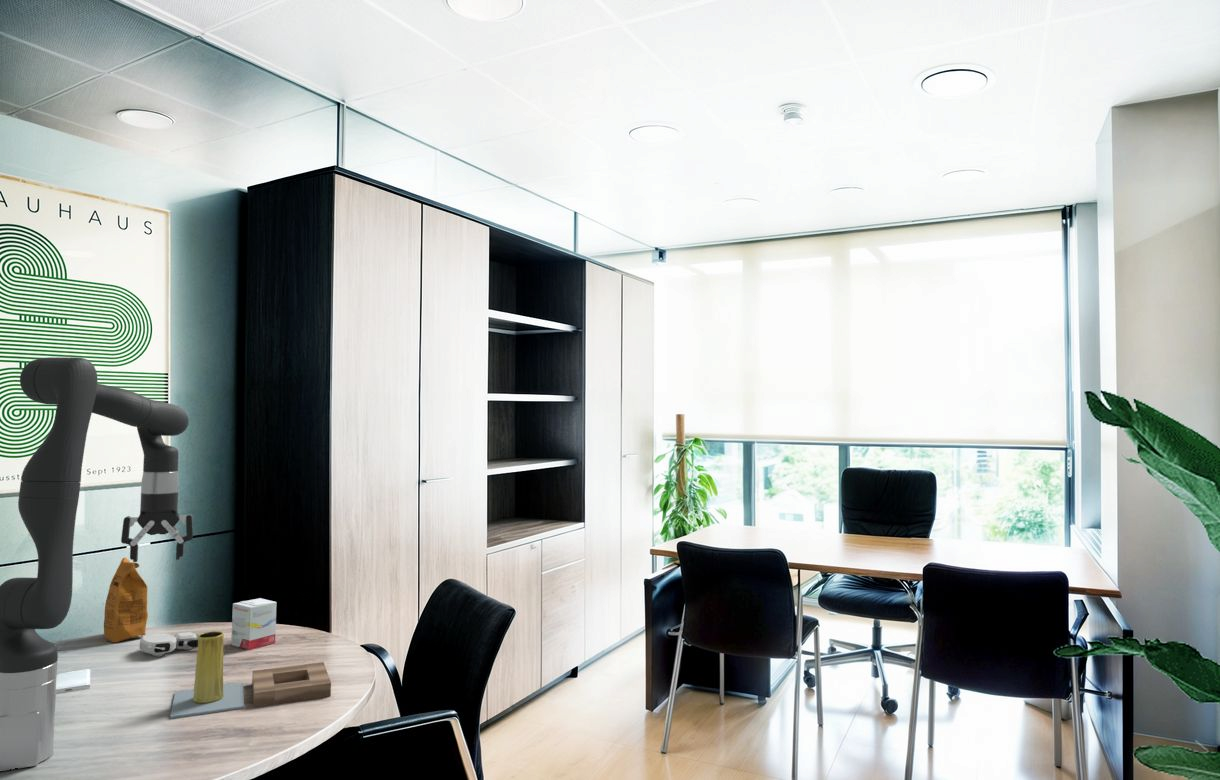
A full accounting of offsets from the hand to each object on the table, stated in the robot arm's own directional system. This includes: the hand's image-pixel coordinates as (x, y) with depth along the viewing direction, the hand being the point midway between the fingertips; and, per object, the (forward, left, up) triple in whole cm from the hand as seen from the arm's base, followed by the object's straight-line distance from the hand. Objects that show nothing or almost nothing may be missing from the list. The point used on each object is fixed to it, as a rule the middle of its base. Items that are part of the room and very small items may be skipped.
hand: (157, 560), depth 174 cm
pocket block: (-12, -29, -30) cm, 43 cm away
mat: (-12, -12, -30) cm, 35 cm away
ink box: (+30, -22, -30) cm, 48 cm away
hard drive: (+13, +18, -31) cm, 38 cm away
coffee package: (+52, +11, -30) cm, 61 cm away
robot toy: (+32, -2, -30) cm, 44 cm away
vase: (-12, -12, -30) cm, 34 cm away
